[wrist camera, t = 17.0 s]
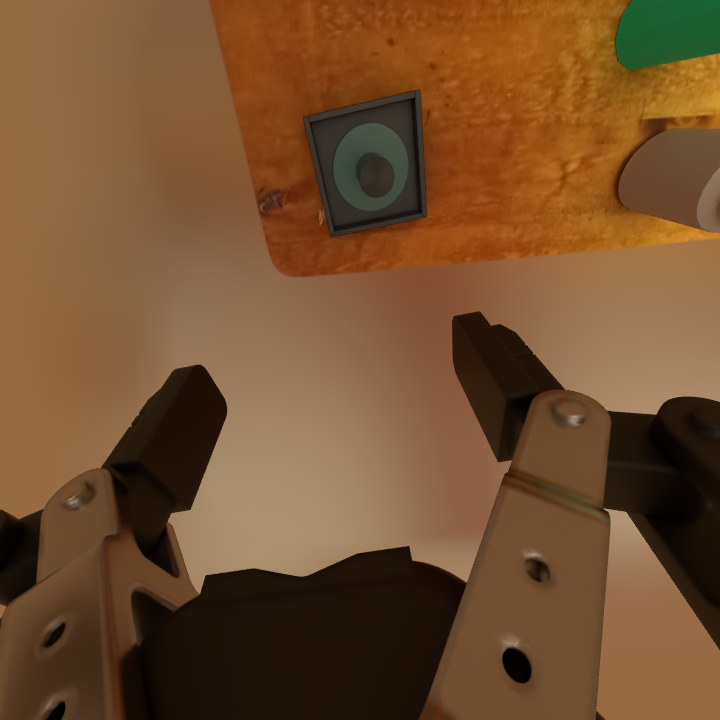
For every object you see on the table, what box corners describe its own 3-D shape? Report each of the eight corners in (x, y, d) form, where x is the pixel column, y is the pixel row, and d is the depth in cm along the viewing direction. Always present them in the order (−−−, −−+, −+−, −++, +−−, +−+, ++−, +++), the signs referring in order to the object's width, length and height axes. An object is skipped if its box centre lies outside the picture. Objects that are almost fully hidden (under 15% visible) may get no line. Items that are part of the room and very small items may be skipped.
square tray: (331, 231, 36) (331, 237, 34) (305, 117, 30) (302, 117, 28) (422, 211, 35) (427, 217, 33) (414, 91, 29) (420, 88, 27)
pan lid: (342, 215, 35) (342, 233, 29) (324, 132, 30) (321, 133, 24) (410, 201, 34) (424, 216, 28) (403, 113, 30) (418, 110, 24)
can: (628, 133, 32) (753, 136, 22) (703, 123, 32) (862, 121, 22) (602, 212, 36) (697, 243, 27) (668, 204, 36) (787, 232, 27)
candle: (632, 87, 30) (772, 68, 20) (602, 30, 27) (746, -22, 18) (702, 15, 27) (902, -46, 17) (675, -55, 25) (891, -171, 15)
